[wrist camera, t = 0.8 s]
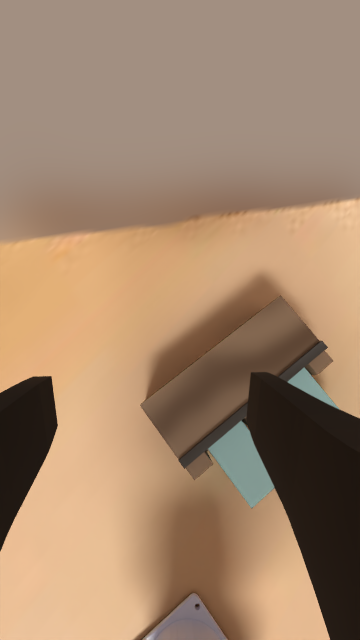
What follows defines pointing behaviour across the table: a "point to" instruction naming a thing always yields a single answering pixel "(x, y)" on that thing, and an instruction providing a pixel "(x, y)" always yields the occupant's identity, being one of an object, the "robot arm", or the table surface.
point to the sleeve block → (231, 381)
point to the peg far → (310, 386)
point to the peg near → (242, 464)
